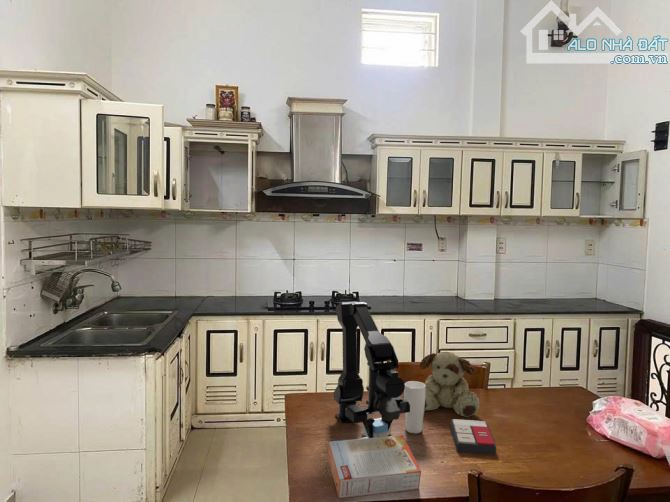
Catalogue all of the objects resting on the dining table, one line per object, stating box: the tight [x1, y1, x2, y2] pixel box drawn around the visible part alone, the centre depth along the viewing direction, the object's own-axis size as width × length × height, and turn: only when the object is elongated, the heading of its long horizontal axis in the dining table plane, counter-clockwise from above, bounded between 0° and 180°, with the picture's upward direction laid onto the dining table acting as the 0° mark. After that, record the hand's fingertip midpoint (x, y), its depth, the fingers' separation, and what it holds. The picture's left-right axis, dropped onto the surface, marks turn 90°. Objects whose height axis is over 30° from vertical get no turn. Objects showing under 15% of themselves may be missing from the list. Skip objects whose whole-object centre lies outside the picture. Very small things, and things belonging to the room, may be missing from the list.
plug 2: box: [368, 418, 389, 438], centre depth 130 cm, size 5×4×8 cm
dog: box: [418, 351, 480, 418], centre depth 164 cm, size 23×19×20 cm
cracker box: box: [327, 434, 422, 499], centre depth 116 cm, size 14×6×21 cm
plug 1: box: [362, 417, 392, 437], centre depth 142 cm, size 4×8×4 cm, turn 116°
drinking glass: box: [403, 380, 426, 434], centre depth 144 cm, size 7×7×15 cm
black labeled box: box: [450, 418, 497, 456], centre depth 138 cm, size 11×4×15 cm
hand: (377, 438), depth 130 cm, fingers open, 4 cm apart
